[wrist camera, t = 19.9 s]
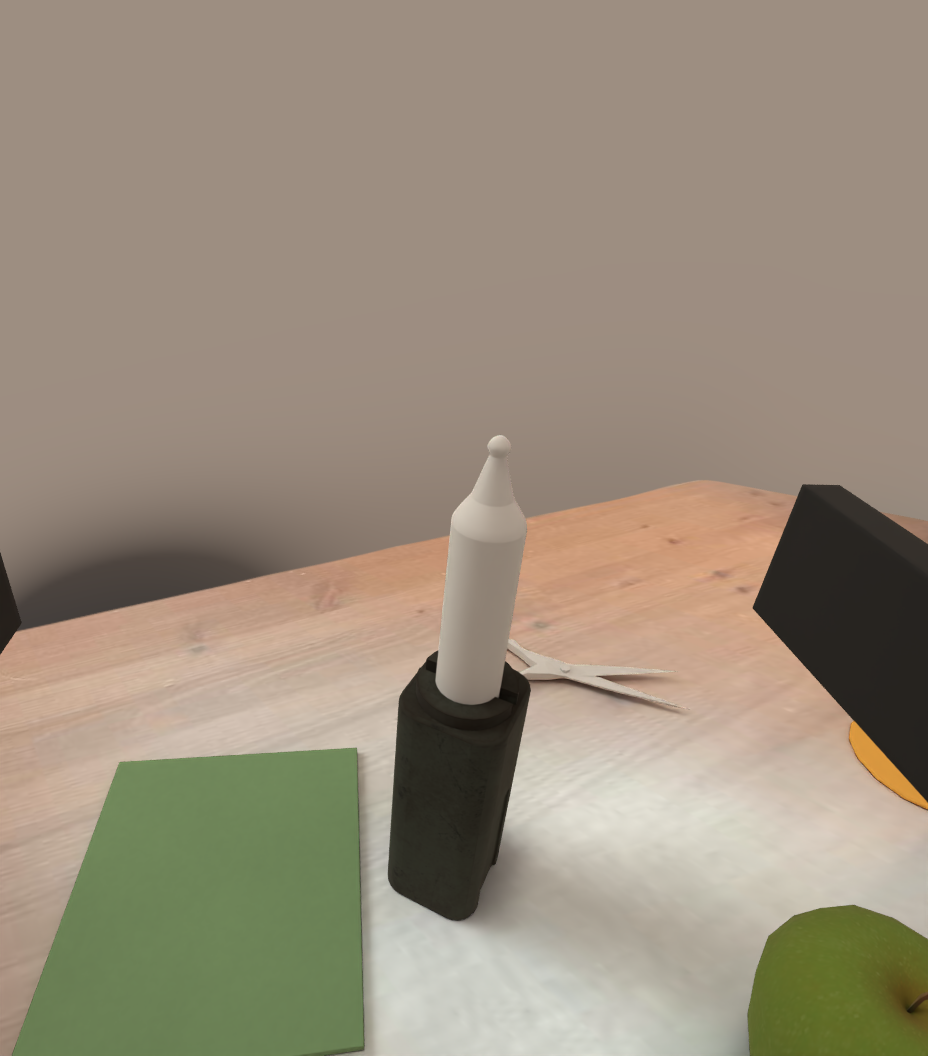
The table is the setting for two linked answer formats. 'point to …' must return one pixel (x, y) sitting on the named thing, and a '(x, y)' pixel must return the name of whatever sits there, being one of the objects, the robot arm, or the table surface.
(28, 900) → the table surface
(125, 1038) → the cloth
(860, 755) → the cup
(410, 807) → the candle
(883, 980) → the green rounded fruit
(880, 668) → the robot arm
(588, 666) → the scissors
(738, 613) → the table surface
